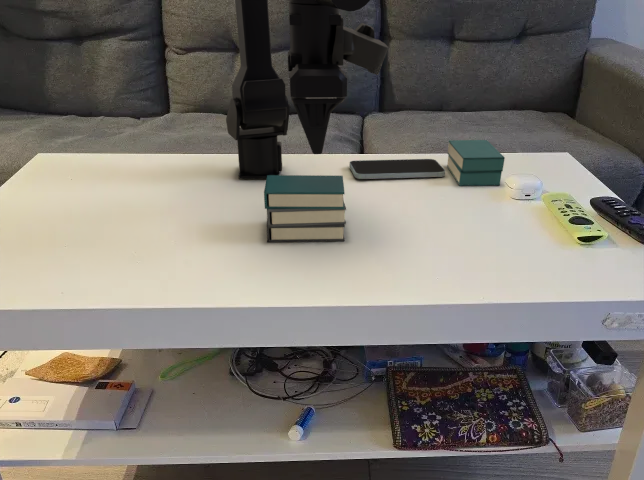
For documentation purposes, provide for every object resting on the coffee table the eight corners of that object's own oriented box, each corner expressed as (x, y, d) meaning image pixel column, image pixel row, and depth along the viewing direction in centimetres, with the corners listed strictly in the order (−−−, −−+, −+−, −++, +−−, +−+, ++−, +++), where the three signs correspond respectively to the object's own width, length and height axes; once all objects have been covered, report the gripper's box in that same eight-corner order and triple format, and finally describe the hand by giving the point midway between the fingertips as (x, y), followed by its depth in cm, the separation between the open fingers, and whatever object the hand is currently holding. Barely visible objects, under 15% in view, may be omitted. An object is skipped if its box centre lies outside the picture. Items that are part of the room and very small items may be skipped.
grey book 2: (267, 242, 86) (266, 226, 85) (268, 223, 92) (267, 207, 90) (344, 241, 87) (344, 225, 86) (341, 222, 92) (341, 207, 91)
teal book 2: (502, 171, 105) (504, 157, 104) (462, 172, 104) (463, 158, 103) (484, 153, 113) (486, 139, 112) (447, 153, 112) (448, 140, 111)
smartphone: (447, 172, 108) (356, 174, 106) (446, 177, 109) (356, 180, 107) (434, 158, 114) (348, 160, 112) (433, 163, 115) (348, 166, 113)
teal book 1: (264, 208, 84) (263, 191, 83) (267, 191, 89) (267, 175, 88) (344, 209, 84) (344, 192, 83) (342, 191, 90) (342, 175, 88)
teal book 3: (499, 185, 106) (501, 171, 105) (459, 185, 106) (460, 172, 104) (484, 166, 114) (486, 153, 113) (446, 166, 114) (448, 153, 112)
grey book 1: (267, 226, 85) (267, 210, 84) (266, 208, 90) (265, 192, 89) (345, 224, 86) (346, 207, 85) (339, 206, 91) (340, 190, 90)
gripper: (397, 11, 68) (389, 164, 77) (374, -5, 84) (370, 124, 92) (288, 11, 67) (292, 166, 76) (285, -5, 83) (289, 125, 92)
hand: (315, 143), depth 84 cm, fingers open, 9 cm apart
